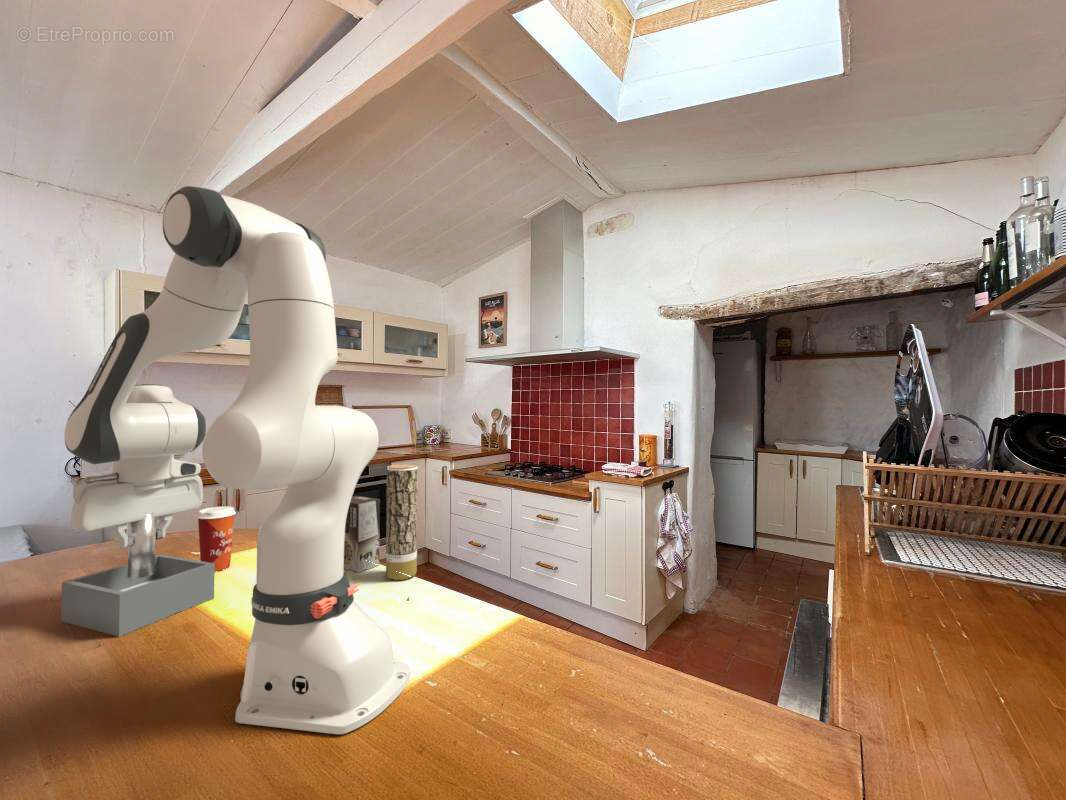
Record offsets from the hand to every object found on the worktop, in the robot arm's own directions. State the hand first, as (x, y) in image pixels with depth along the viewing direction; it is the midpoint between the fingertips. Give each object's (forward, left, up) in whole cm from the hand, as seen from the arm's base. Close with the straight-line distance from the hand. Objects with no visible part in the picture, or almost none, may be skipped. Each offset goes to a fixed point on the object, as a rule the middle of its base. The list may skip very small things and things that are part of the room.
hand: (142, 542), depth 86 cm
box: (0, 0, -13) cm, 13 cm away
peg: (0, 0, -6) cm, 6 cm away
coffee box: (-22, -33, -13) cm, 42 cm away
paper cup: (+8, -20, -13) cm, 25 cm away
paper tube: (-36, -31, -13) cm, 49 cm away
